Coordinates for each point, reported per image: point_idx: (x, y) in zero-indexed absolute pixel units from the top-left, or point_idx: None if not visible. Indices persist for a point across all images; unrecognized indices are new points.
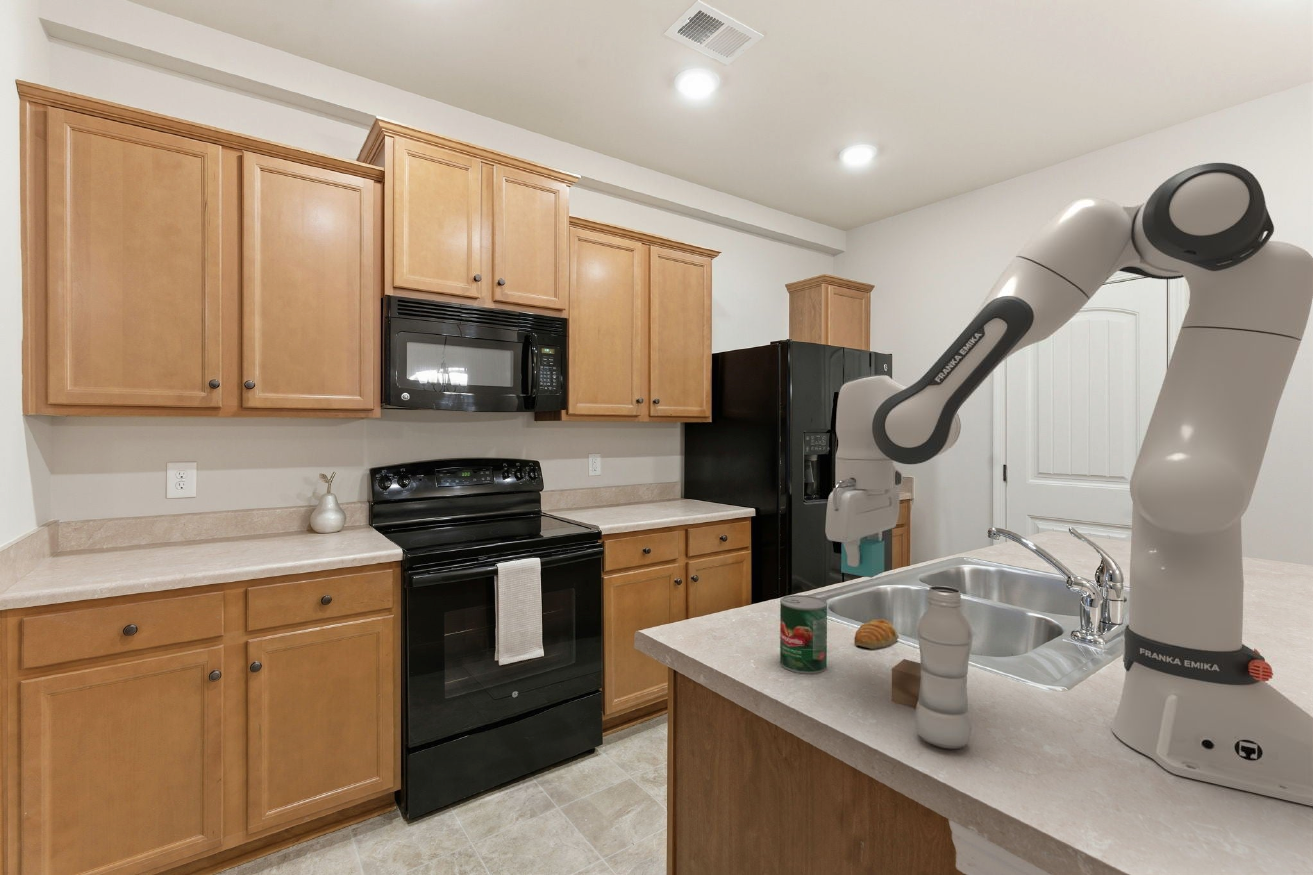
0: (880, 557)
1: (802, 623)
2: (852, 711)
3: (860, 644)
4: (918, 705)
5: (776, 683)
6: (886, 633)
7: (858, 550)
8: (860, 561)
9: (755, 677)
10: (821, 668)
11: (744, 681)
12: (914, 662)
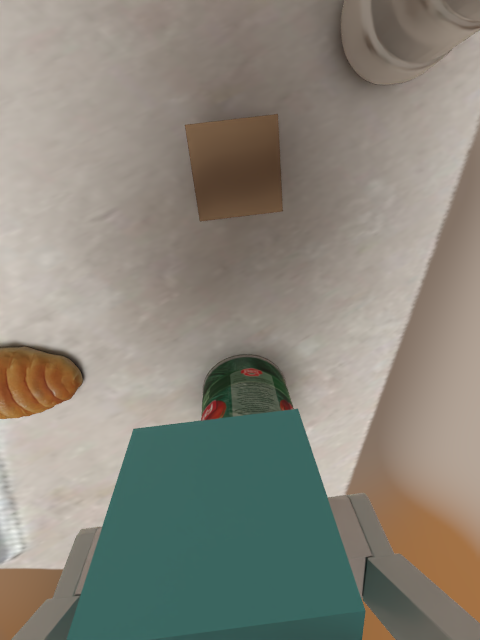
0: (176, 501)
1: None
2: (363, 231)
3: (80, 377)
4: (450, 50)
5: (345, 372)
6: (4, 363)
7: (418, 594)
8: (341, 514)
9: (347, 403)
10: (249, 358)
11: (371, 403)
12: (201, 190)
